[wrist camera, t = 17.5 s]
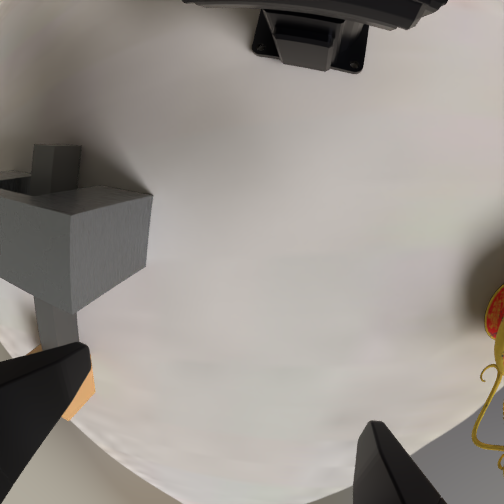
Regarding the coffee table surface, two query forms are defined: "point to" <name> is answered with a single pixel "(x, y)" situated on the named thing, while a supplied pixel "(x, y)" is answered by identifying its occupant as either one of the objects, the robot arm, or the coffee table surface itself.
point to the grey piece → (70, 240)
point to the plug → (48, 316)
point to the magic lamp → (500, 329)
